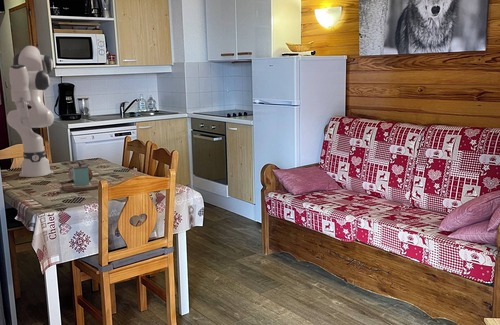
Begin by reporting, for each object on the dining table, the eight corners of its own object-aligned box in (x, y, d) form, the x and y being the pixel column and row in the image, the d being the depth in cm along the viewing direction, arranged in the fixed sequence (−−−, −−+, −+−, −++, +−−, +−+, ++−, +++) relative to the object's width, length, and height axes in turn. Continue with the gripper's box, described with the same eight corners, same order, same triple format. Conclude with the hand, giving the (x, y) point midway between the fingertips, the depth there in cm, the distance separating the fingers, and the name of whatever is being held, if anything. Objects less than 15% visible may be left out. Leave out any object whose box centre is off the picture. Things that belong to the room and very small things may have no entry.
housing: (74, 184, 266) (72, 162, 263) (87, 182, 269) (85, 160, 266) (75, 186, 261) (73, 164, 259) (89, 184, 264) (87, 162, 262)
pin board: (62, 187, 267) (61, 178, 266) (96, 182, 275) (96, 174, 274) (66, 192, 255) (65, 183, 254) (102, 188, 263) (101, 178, 262)
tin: (93, 181, 279) (92, 166, 277) (89, 183, 276) (88, 168, 274) (71, 179, 284) (70, 165, 283) (68, 181, 281) (66, 166, 280)
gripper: (29, 98, 246) (32, 126, 249) (26, 96, 264) (29, 122, 267) (15, 99, 243) (18, 127, 246) (13, 96, 261) (16, 123, 264)
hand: (24, 124), depth 256 cm, fingers open, 8 cm apart
